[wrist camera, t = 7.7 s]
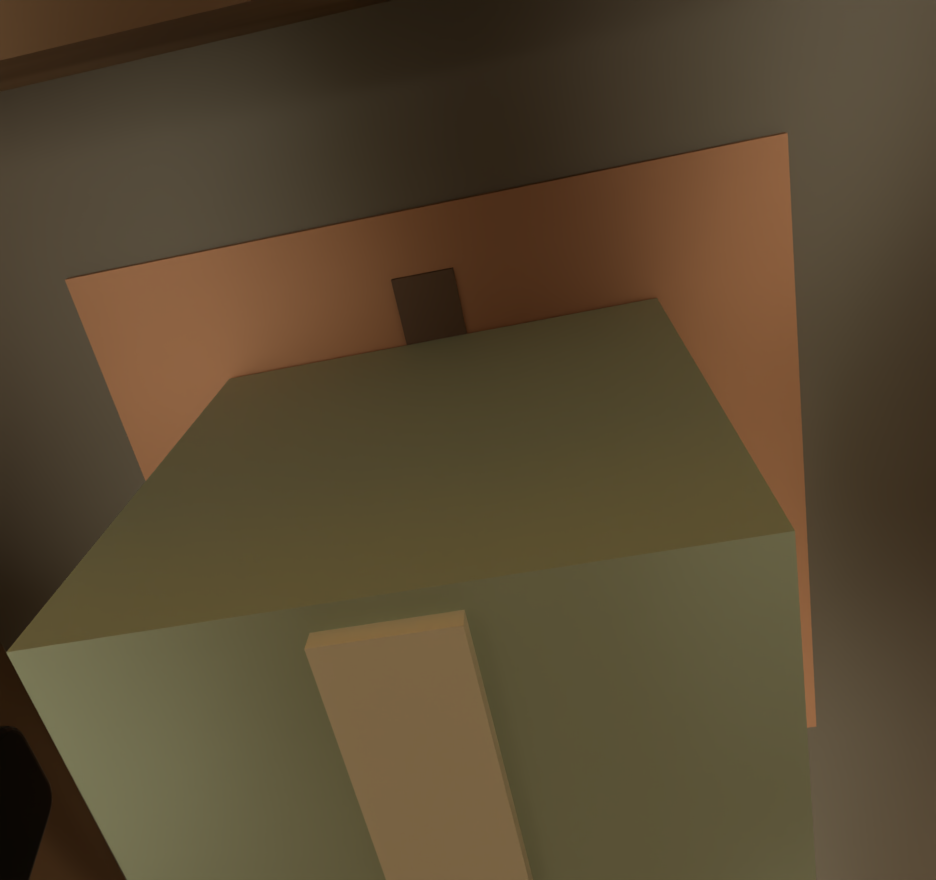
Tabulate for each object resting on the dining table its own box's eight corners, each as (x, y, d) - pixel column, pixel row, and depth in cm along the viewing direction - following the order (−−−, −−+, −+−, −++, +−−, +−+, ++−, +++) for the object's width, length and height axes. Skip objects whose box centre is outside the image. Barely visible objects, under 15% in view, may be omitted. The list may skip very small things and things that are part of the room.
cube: (700, 655, 12) (833, 1075, 7) (341, 705, 12) (239, 1121, 7) (657, 297, 10) (804, 545, 5) (229, 379, 10) (-8, 667, 5)
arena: (1099, -318, 8) (1520, -575, 4) (1008, 870, 14) (1159, 1119, 11) (-384, 57, 9) (-836, 64, 6) (120, 960, 16) (23, 1195, 12)
